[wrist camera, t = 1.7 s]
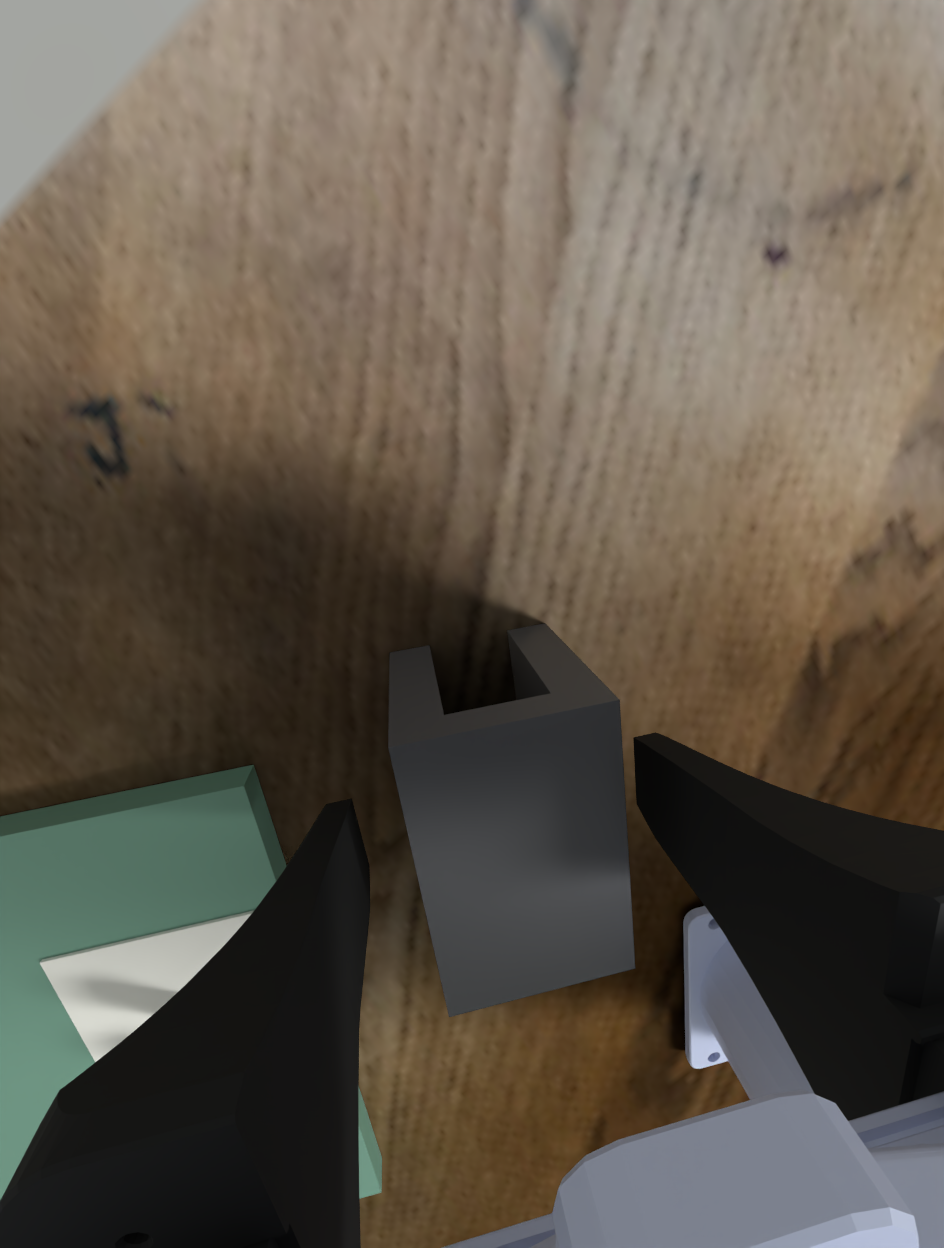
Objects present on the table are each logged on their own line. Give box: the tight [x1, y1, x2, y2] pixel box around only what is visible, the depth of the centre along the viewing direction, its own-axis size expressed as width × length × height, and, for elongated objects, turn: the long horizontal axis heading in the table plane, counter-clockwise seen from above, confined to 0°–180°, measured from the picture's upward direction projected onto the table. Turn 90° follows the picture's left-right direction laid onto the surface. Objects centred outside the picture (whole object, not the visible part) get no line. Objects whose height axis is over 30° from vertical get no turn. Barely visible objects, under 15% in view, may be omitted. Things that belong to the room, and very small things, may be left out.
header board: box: [0, 765, 382, 1200], centre depth 15 cm, size 13×18×4 cm
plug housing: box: [388, 623, 635, 1017], centre depth 13 cm, size 4×7×5 cm, turn 8°
